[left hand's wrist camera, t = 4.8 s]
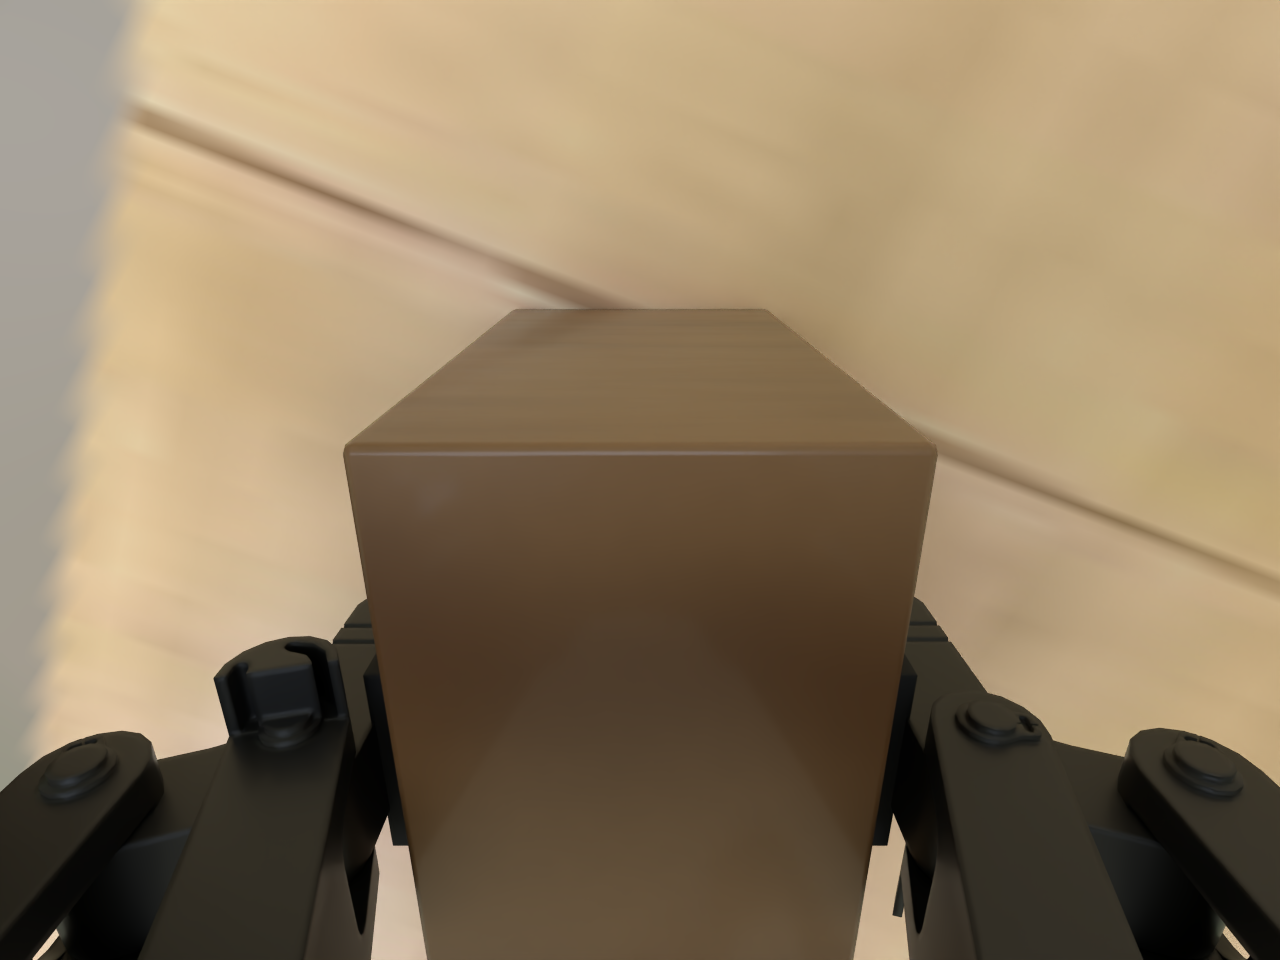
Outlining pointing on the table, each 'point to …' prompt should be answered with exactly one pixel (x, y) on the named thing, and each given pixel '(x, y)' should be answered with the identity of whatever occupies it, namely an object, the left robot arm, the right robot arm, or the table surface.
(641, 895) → the bar
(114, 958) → the left robot arm
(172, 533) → the table surface
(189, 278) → the table surface
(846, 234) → the table surface
